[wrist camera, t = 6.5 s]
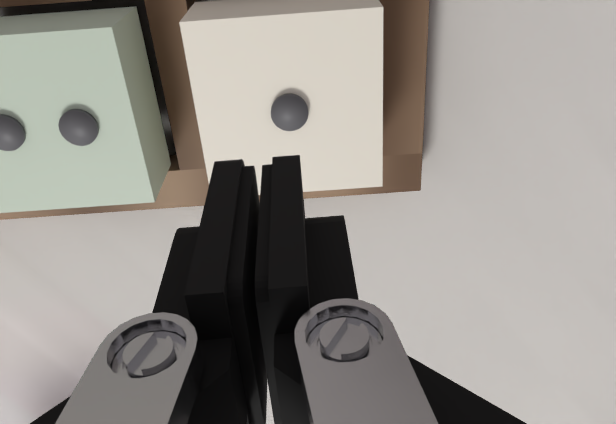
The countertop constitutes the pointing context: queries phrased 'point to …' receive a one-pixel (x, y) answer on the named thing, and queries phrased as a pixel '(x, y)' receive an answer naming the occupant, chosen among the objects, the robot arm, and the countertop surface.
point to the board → (180, 105)
